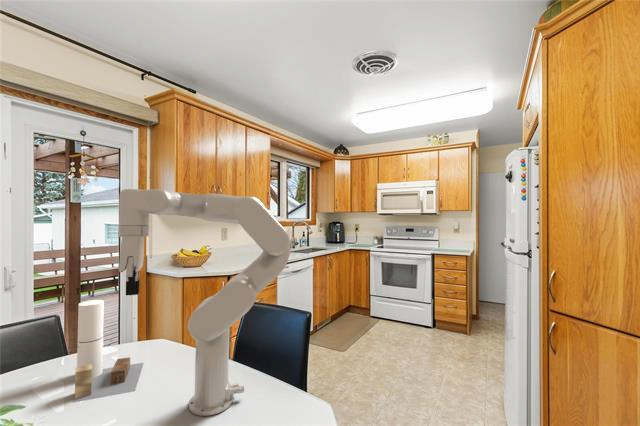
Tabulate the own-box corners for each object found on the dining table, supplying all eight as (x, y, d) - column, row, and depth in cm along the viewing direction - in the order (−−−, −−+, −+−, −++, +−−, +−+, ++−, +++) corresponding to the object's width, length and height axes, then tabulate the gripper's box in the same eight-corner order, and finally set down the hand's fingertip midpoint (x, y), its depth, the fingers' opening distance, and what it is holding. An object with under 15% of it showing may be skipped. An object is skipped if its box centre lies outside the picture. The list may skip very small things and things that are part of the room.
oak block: (90, 388, 97) (91, 363, 97) (91, 394, 94) (91, 368, 94) (74, 393, 94) (75, 367, 94) (74, 399, 91) (75, 372, 91)
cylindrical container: (88, 381, 101) (90, 306, 101) (71, 378, 102) (72, 304, 103) (107, 370, 108) (109, 300, 108) (91, 368, 109) (92, 299, 110)
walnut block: (124, 382, 101) (130, 368, 110) (124, 370, 101) (130, 357, 110) (110, 384, 99) (117, 370, 108) (110, 372, 99) (117, 359, 108)
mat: (143, 363, 114) (143, 362, 114) (134, 391, 96) (135, 390, 96) (92, 371, 108) (92, 370, 108) (72, 403, 90) (72, 402, 90)
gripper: (124, 230, 94) (122, 289, 93) (112, 233, 80) (111, 302, 80) (151, 230, 97) (150, 287, 96) (145, 232, 83) (143, 299, 83)
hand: (132, 294), depth 88 cm, fingers closed
